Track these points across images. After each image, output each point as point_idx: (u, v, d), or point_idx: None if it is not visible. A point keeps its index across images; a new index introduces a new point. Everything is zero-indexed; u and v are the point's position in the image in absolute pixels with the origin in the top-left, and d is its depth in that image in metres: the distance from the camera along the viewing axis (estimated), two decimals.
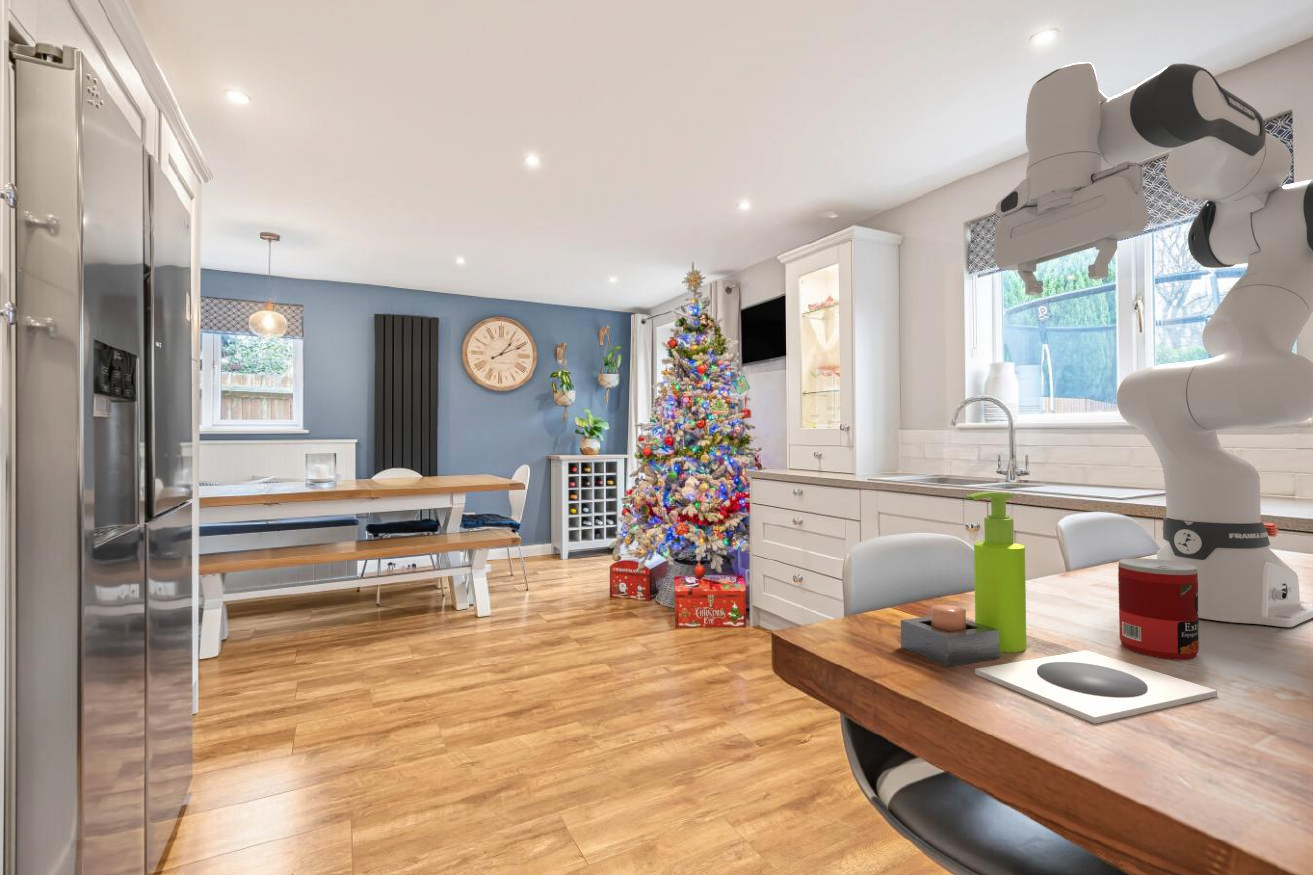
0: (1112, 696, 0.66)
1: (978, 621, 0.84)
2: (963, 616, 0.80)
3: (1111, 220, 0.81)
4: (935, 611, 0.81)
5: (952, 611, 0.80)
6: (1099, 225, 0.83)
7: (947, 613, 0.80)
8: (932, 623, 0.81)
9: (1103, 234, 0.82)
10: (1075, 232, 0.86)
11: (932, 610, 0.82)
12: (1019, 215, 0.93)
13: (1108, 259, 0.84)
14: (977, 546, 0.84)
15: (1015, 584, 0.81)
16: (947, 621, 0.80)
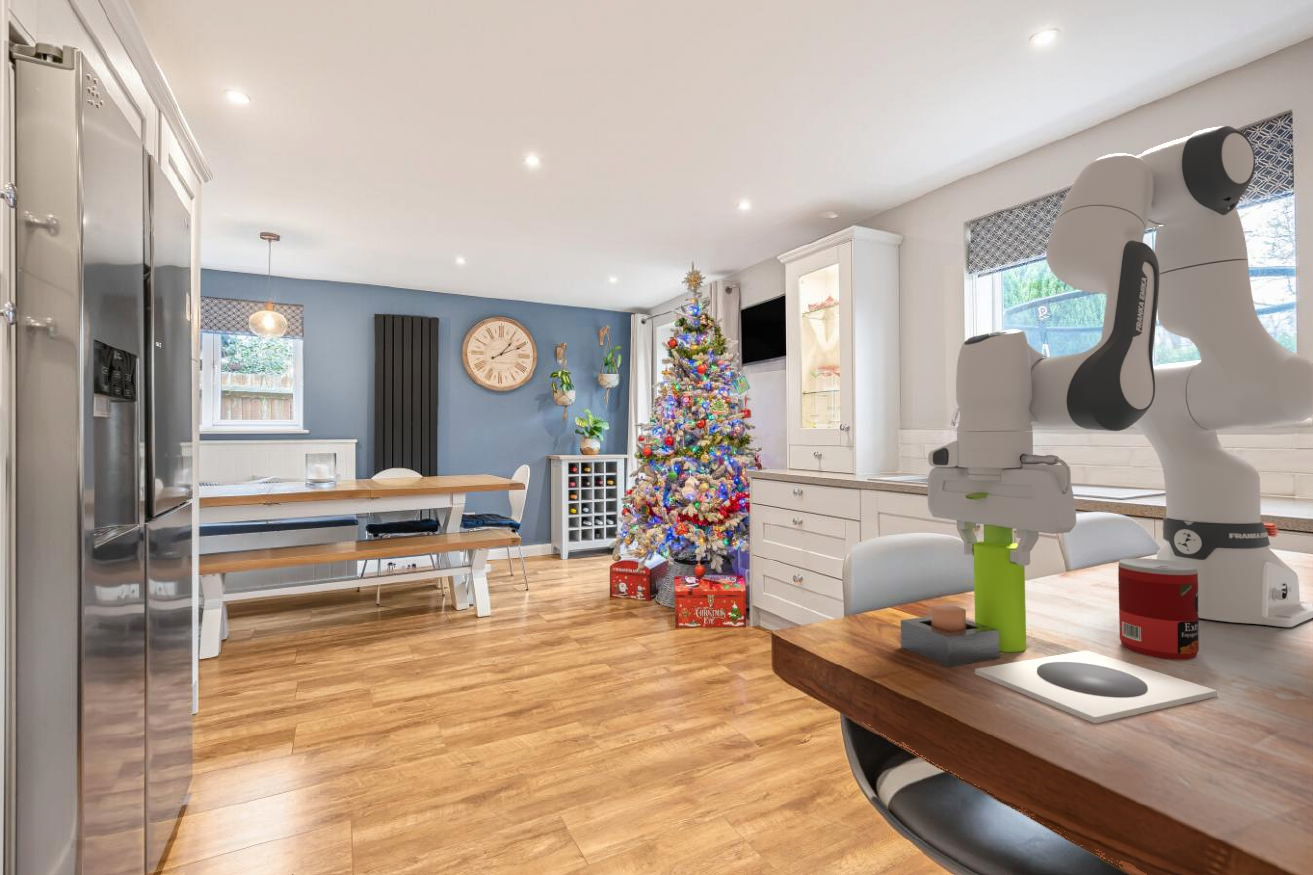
0: (1112, 696, 0.66)
1: (978, 621, 0.84)
2: (963, 616, 0.80)
3: (1038, 517, 0.76)
4: (935, 611, 0.81)
5: (952, 611, 0.80)
6: (1026, 517, 0.78)
7: (947, 613, 0.80)
8: (932, 623, 0.81)
9: (1030, 528, 0.78)
10: (1004, 513, 0.81)
11: (932, 610, 0.82)
12: (950, 473, 0.88)
13: (1029, 548, 0.80)
14: (977, 546, 0.84)
15: (1015, 584, 0.82)
16: (947, 621, 0.80)
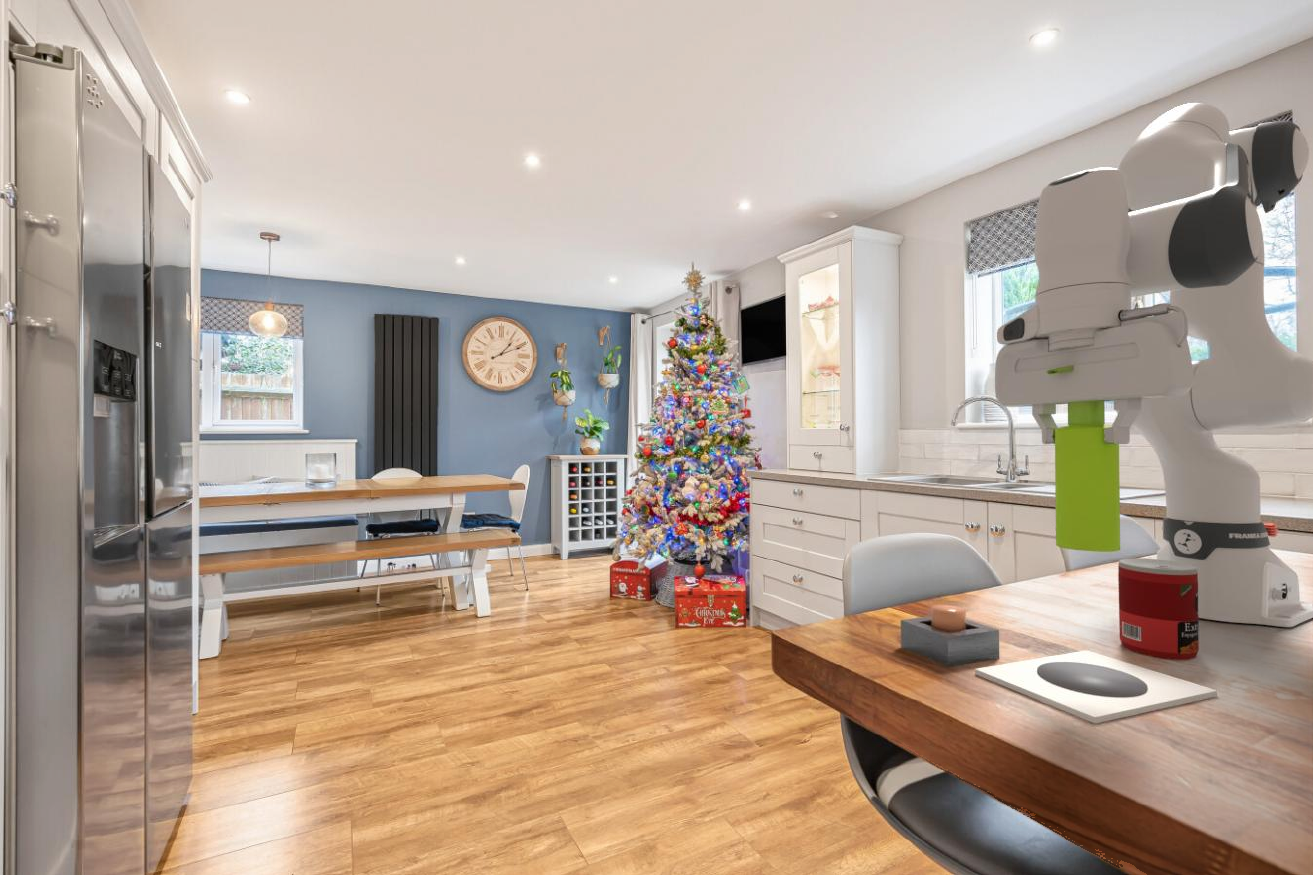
0: (1112, 696, 0.66)
1: (1061, 518, 0.71)
2: (963, 616, 0.80)
3: (1146, 378, 0.63)
4: (935, 611, 0.81)
5: (952, 611, 0.80)
6: (1129, 381, 0.65)
7: (947, 613, 0.80)
8: (932, 623, 0.81)
9: (1135, 394, 0.64)
10: (1098, 383, 0.68)
11: (932, 610, 0.82)
12: (1025, 347, 0.75)
13: (1130, 422, 0.67)
14: (1061, 430, 0.71)
15: (1109, 471, 0.68)
16: (947, 621, 0.80)
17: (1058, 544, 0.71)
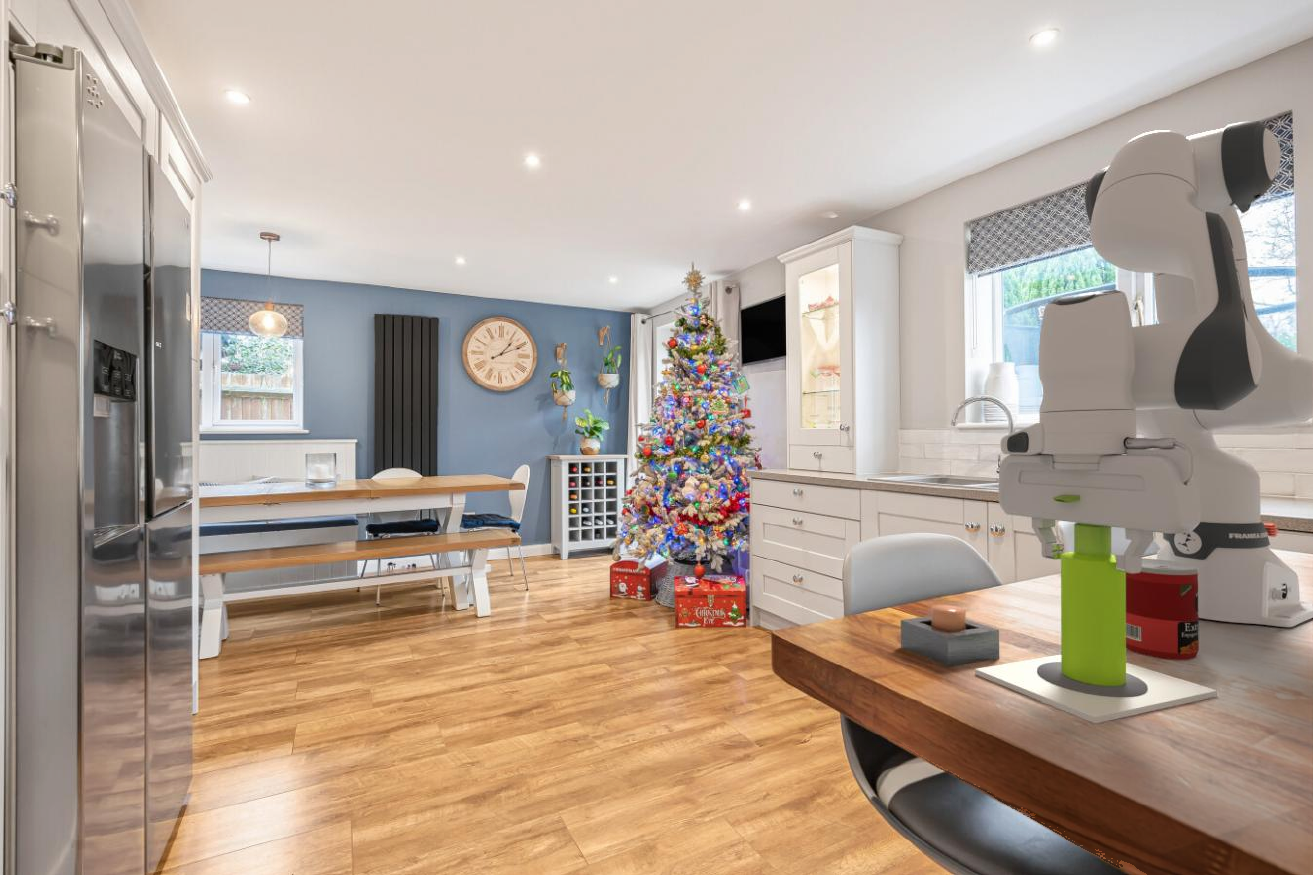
0: (1112, 696, 0.66)
1: (1067, 647, 0.71)
2: (963, 616, 0.80)
3: (1152, 514, 0.63)
4: (935, 611, 0.81)
5: (952, 611, 0.80)
6: (1135, 513, 0.64)
7: (947, 613, 0.80)
8: (932, 623, 0.81)
9: (1141, 527, 0.64)
10: (1103, 509, 0.67)
11: (932, 610, 0.82)
12: (1030, 462, 0.74)
13: (1142, 551, 0.66)
14: (1067, 558, 0.70)
15: (1115, 605, 0.68)
16: (947, 621, 0.80)
17: (1063, 672, 0.71)
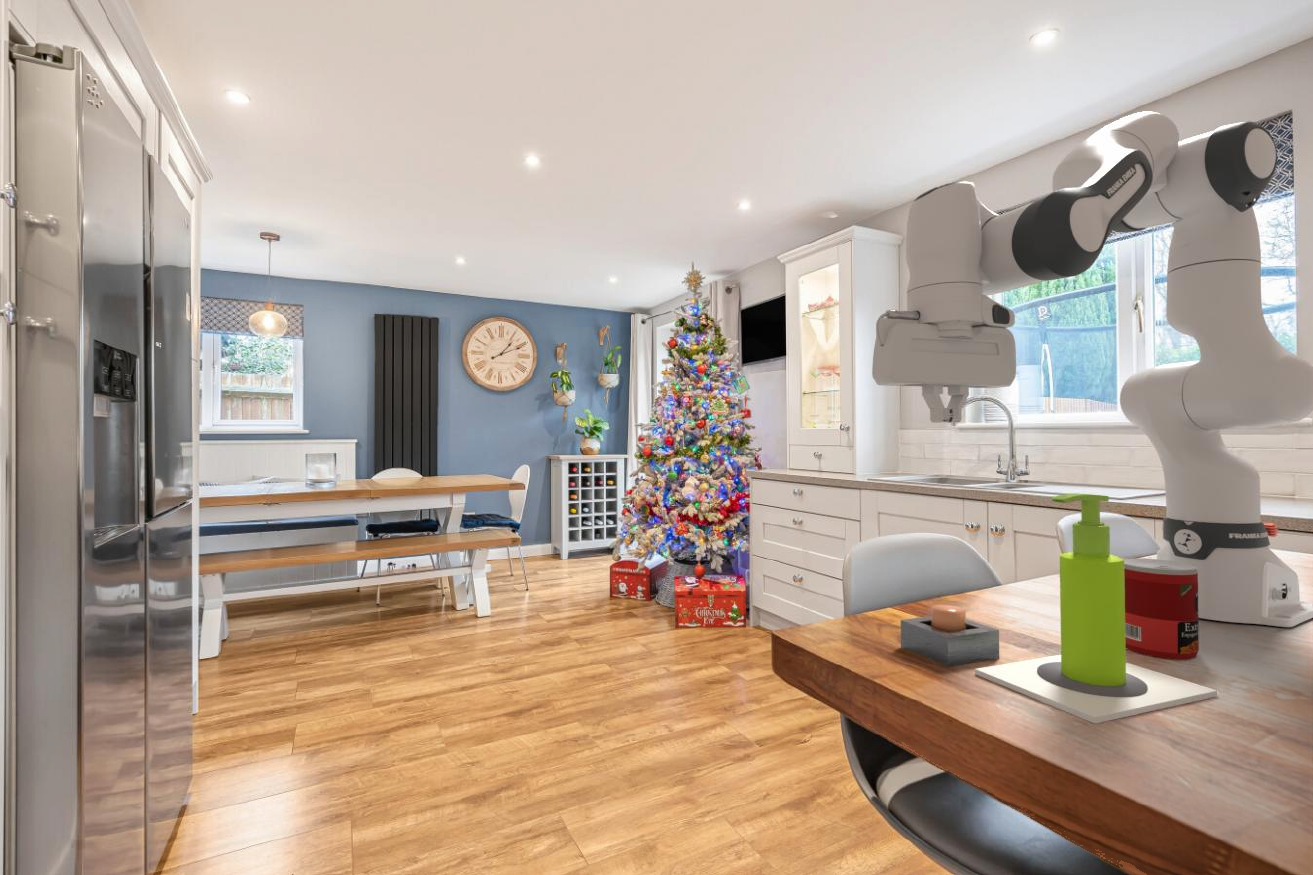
0: (1112, 696, 0.66)
1: (1066, 648, 0.71)
2: (963, 616, 0.80)
3: None
4: (935, 611, 0.81)
5: (952, 611, 0.80)
6: None
7: (947, 613, 0.80)
8: (932, 623, 0.81)
9: None
10: None
11: (932, 610, 0.82)
12: None
13: (935, 404, 0.81)
14: (1066, 559, 0.70)
15: (1114, 605, 0.68)
16: (947, 621, 0.80)
17: (1063, 672, 0.71)
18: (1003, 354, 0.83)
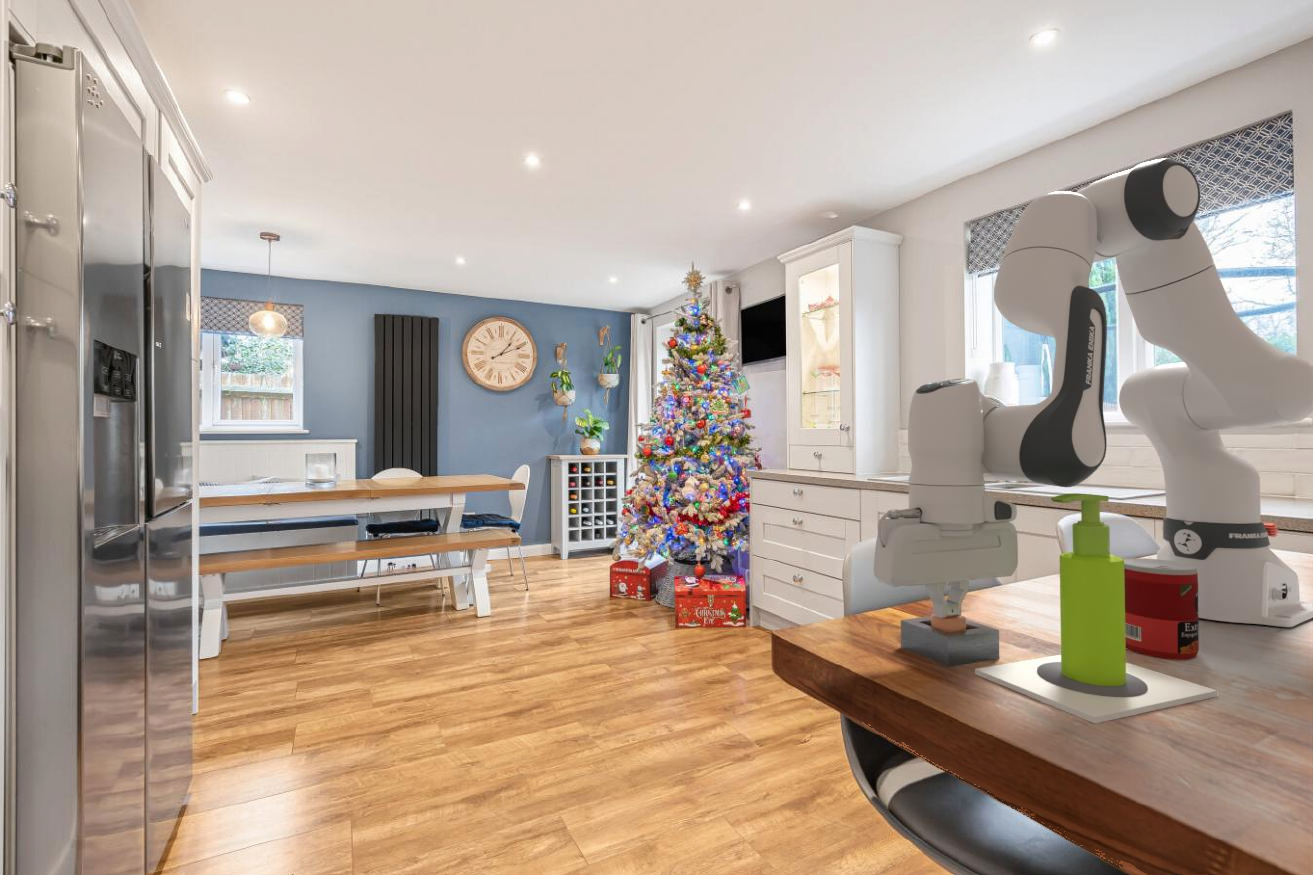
0: (1112, 696, 0.66)
1: (1066, 648, 0.71)
2: (963, 624, 0.80)
3: None
4: (935, 619, 0.81)
5: (952, 619, 0.80)
6: None
7: (947, 621, 0.80)
8: None
9: None
10: None
11: (932, 618, 0.82)
12: None
13: (938, 600, 0.81)
14: (1066, 559, 0.70)
15: (1114, 605, 0.68)
16: (947, 629, 0.80)
17: (1063, 672, 0.71)
18: (1005, 546, 0.83)
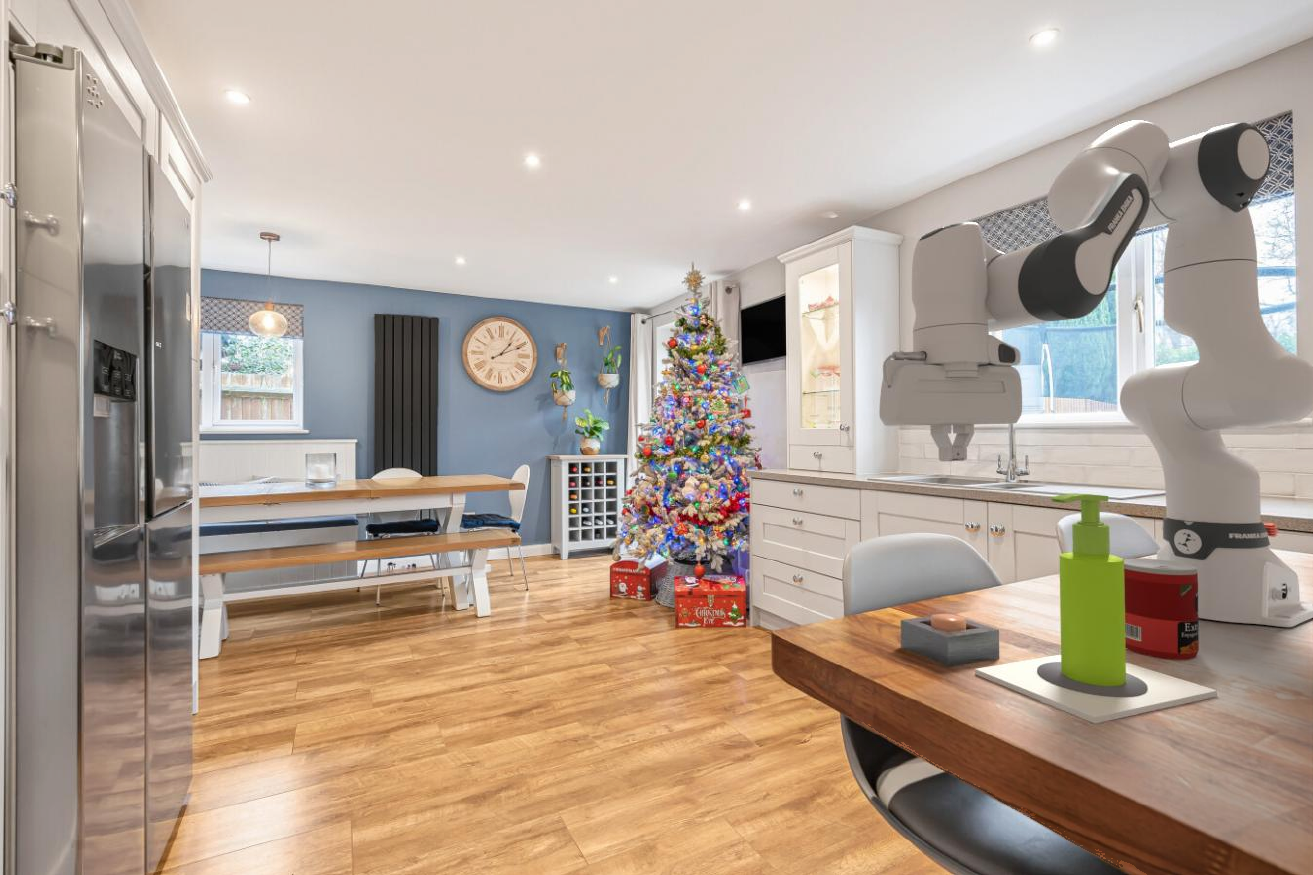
0: (1112, 696, 0.66)
1: (1066, 648, 0.71)
2: (963, 625, 0.80)
3: None
4: (935, 620, 0.81)
5: (952, 620, 0.80)
6: None
7: (947, 622, 0.80)
8: None
9: None
10: None
11: (932, 619, 0.82)
12: None
13: (943, 444, 0.81)
14: (1066, 559, 0.71)
15: (1114, 605, 0.68)
16: (947, 630, 0.80)
17: (1063, 672, 0.71)
18: (1009, 392, 0.83)
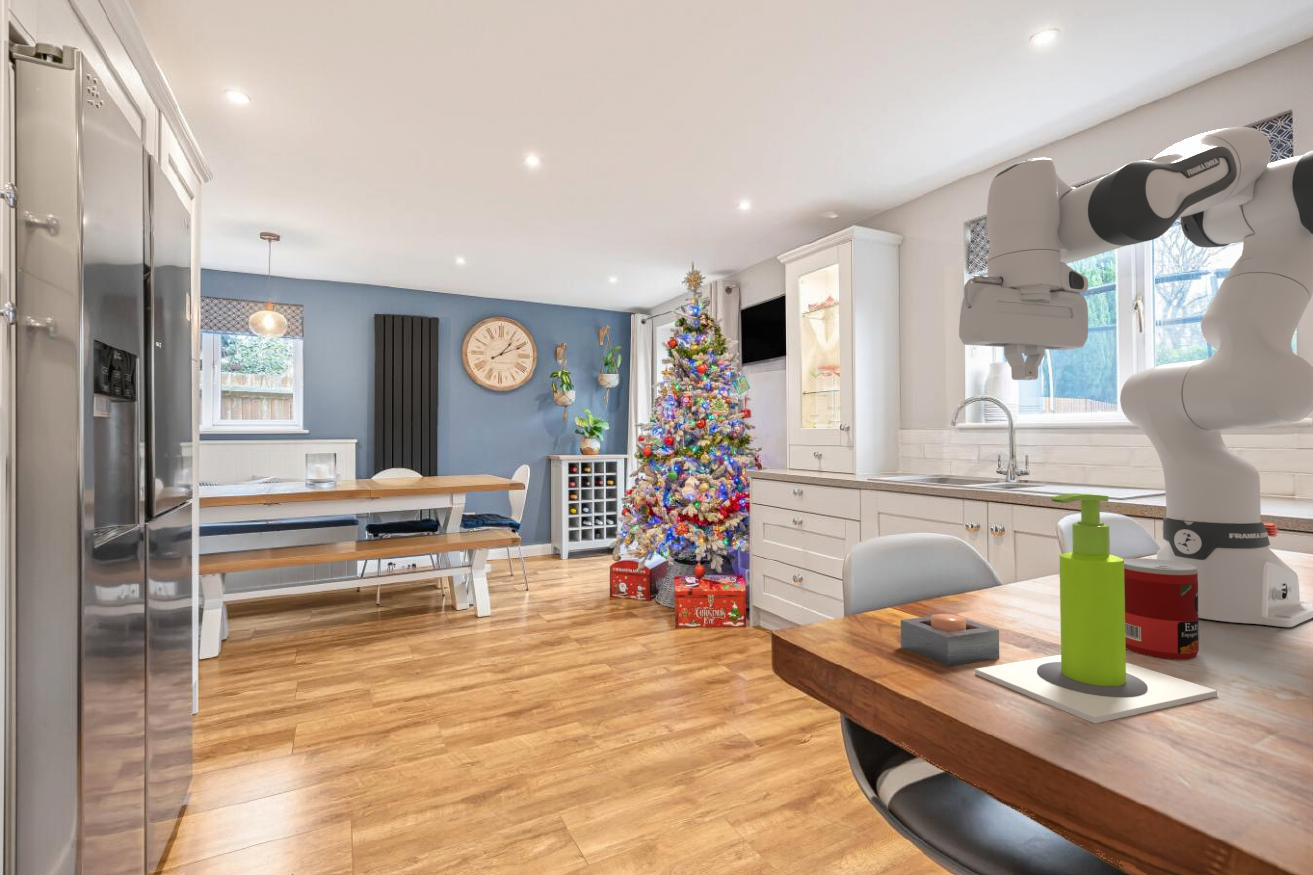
0: (1112, 696, 0.66)
1: (1066, 648, 0.71)
2: (963, 625, 0.80)
3: None
4: (935, 620, 0.81)
5: (952, 620, 0.80)
6: None
7: (947, 622, 0.80)
8: None
9: None
10: None
11: (932, 619, 0.82)
12: None
13: (1017, 362, 0.88)
14: (1066, 559, 0.71)
15: (1114, 605, 0.68)
16: (947, 630, 0.80)
17: (1063, 672, 0.71)
18: (1077, 318, 0.90)
